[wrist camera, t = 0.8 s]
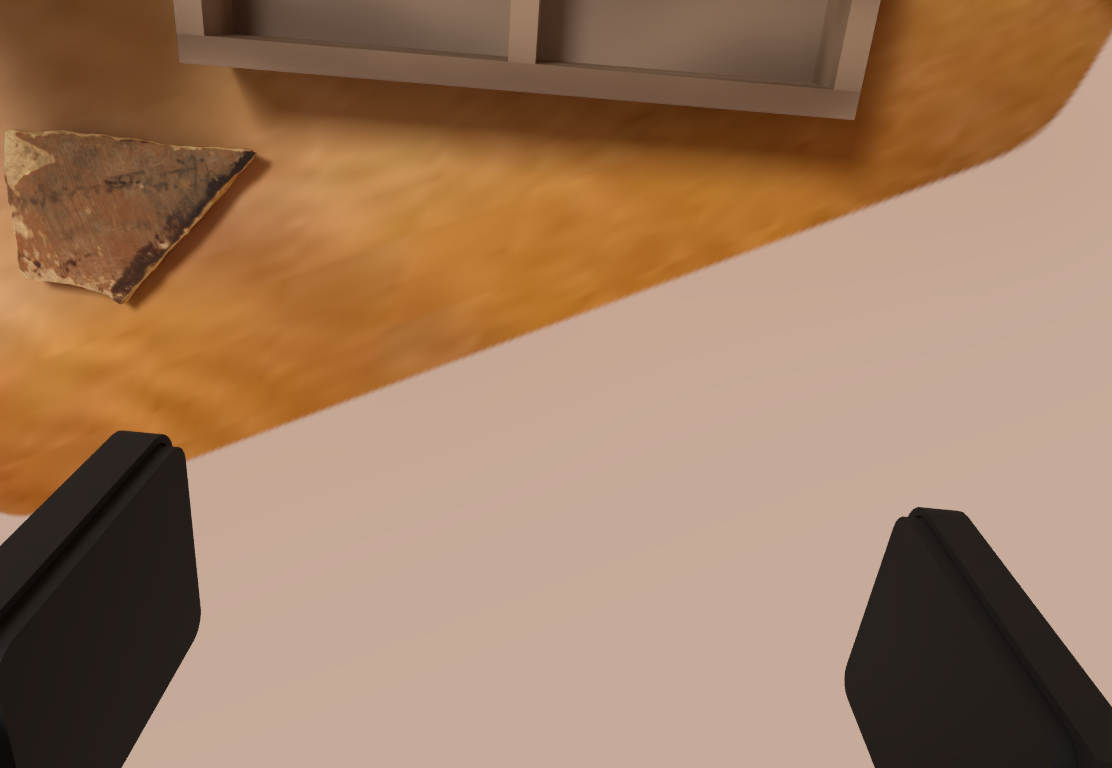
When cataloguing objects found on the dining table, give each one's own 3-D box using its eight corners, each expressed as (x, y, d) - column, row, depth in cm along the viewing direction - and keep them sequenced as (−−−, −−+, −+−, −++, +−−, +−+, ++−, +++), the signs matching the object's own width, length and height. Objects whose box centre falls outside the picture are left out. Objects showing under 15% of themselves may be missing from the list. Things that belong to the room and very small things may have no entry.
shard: (267, 146, 37) (253, 153, 35) (274, 310, 40) (261, 323, 38) (17, 119, 36) (-9, 124, 35) (44, 286, 39) (21, 298, 38)
